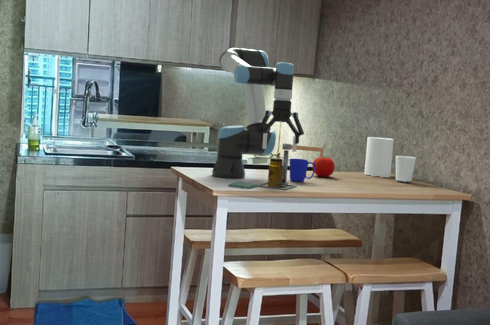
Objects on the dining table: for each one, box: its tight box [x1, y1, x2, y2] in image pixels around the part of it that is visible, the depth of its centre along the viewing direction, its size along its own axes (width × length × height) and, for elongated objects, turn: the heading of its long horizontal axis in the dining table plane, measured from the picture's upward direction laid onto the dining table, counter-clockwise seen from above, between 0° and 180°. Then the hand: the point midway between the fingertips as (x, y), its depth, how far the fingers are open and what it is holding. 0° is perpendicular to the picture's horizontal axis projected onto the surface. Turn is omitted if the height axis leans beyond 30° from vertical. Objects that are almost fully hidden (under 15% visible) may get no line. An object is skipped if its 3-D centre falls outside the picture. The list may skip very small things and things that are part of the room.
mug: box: [289, 158, 316, 183], centre depth 307 cm, size 8×12×10 cm
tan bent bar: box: [281, 142, 325, 157], centre depth 290 cm, size 4×18×4 cm, turn 76°
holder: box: [257, 181, 298, 191], centre depth 285 cm, size 14×14×1 cm
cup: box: [395, 155, 417, 184], centre depth 333 cm, size 10×10×13 cm
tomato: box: [311, 156, 335, 178], centre depth 333 cm, size 11×13×10 cm
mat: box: [227, 181, 259, 190], centre depth 278 cm, size 9×10×1 cm
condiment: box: [264, 157, 287, 188], centre depth 284 cm, size 7×8×12 cm
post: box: [282, 149, 290, 185], centre depth 292 cm, size 4×4×15 cm
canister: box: [364, 136, 394, 178], centre depth 354 cm, size 14×14×20 cm
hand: (279, 150), depth 283 cm, fingers open, 13 cm apart
